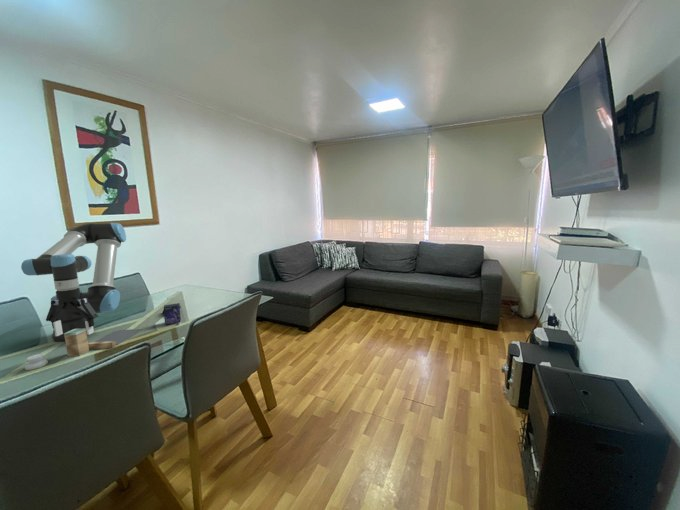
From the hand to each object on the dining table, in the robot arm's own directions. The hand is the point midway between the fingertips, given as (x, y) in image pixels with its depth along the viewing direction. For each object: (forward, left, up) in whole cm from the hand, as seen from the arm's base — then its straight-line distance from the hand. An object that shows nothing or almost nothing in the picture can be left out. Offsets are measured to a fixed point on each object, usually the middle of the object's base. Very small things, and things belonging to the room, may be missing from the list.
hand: (74, 334), depth 121 cm
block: (0, 0, -10) cm, 10 cm away
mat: (+5, +16, -10) cm, 20 cm away
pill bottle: (-9, -9, -17) cm, 21 cm away
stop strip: (+5, +5, -9) cm, 12 cm away
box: (+24, +34, -10) cm, 43 cm away
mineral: (+20, +44, -9) cm, 50 cm away
